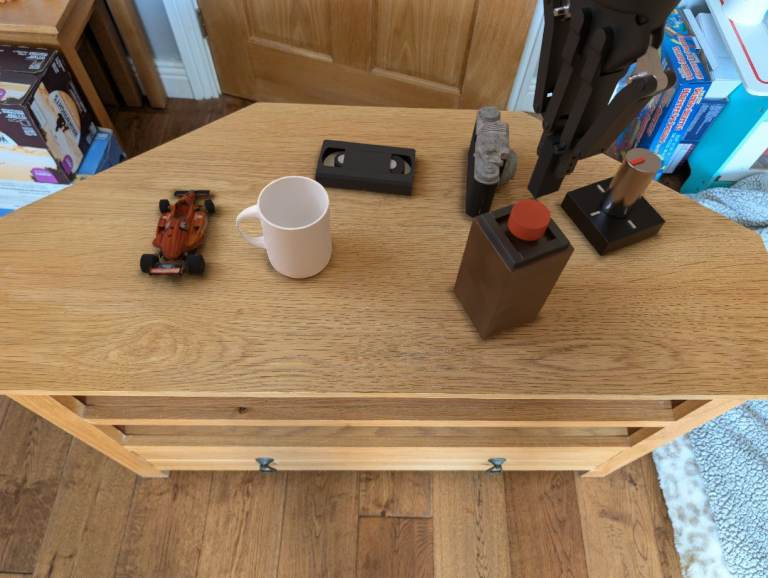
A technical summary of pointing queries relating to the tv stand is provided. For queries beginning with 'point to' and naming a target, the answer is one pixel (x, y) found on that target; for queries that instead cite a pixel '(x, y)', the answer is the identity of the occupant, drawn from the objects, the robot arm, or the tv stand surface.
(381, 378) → the tv stand surface
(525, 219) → the press knob
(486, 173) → the camera
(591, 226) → the dial panel
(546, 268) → the pillar
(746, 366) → the tv stand surface
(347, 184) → the vhs tape
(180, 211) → the toy car
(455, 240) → the tv stand surface
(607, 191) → the dial
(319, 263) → the mug
